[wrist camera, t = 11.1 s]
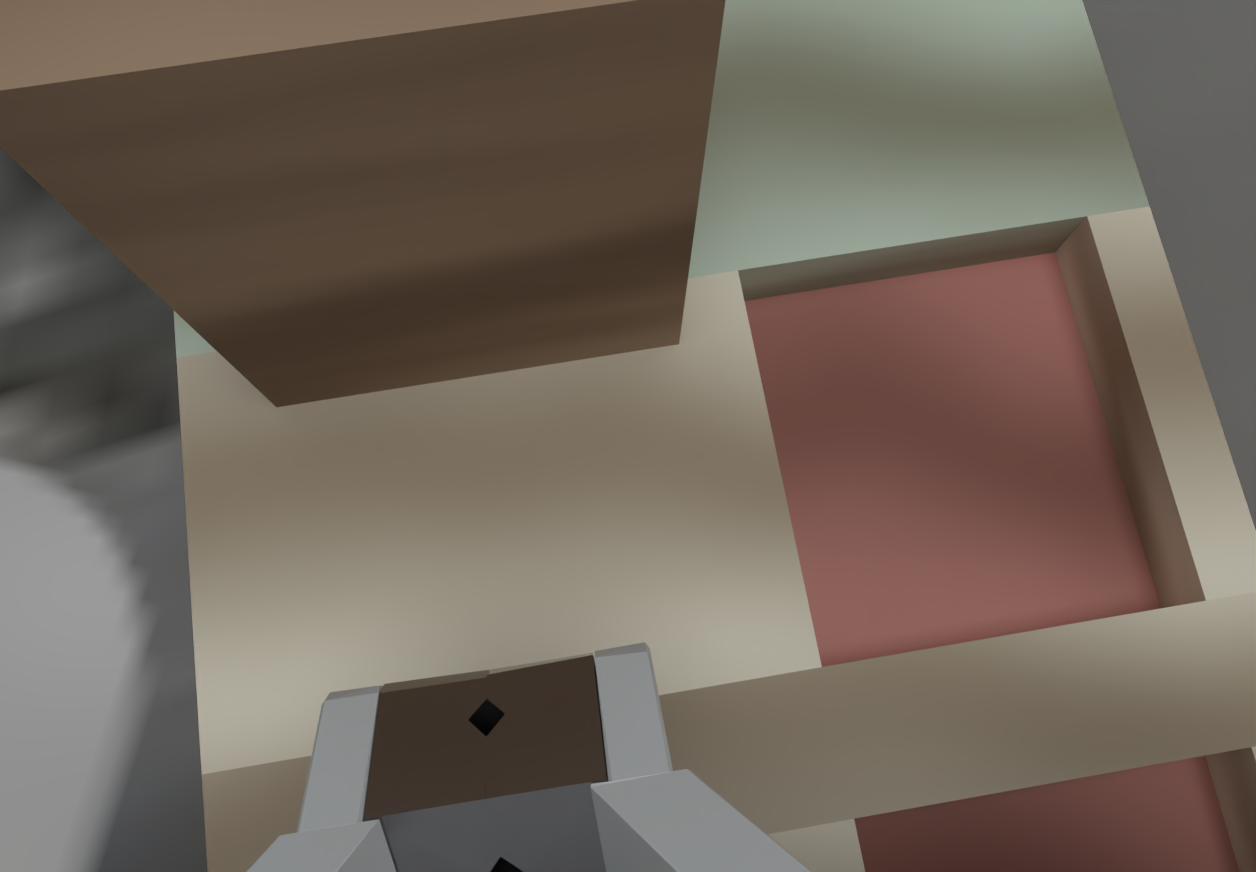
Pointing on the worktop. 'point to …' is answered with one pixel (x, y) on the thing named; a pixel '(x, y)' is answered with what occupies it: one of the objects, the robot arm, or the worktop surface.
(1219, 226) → the worktop surface
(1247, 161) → the worktop surface
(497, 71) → the walnut block
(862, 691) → the box
